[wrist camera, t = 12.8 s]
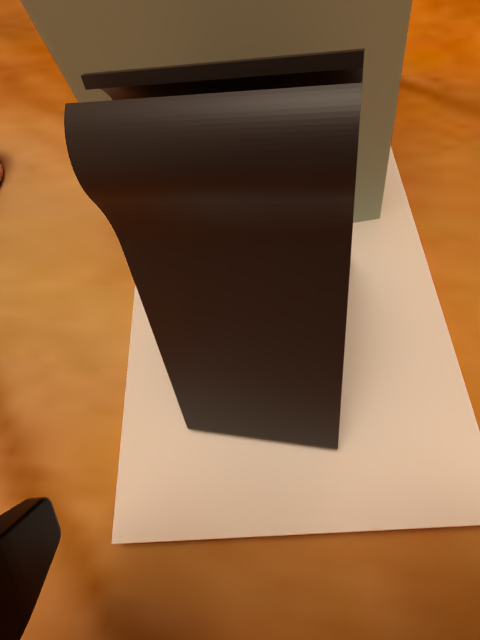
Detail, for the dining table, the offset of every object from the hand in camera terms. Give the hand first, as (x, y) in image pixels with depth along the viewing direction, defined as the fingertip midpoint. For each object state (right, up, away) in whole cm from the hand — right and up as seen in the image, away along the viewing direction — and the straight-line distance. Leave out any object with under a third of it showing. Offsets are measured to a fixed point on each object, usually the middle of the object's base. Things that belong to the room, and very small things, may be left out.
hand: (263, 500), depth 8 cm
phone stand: (+1, +3, +11) cm, 11 cm away
